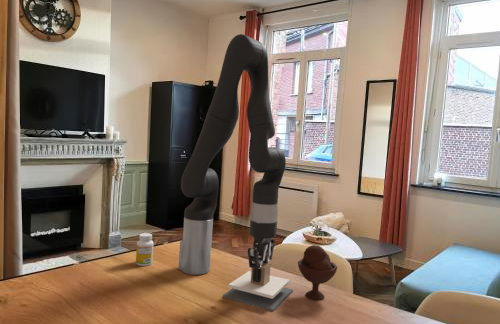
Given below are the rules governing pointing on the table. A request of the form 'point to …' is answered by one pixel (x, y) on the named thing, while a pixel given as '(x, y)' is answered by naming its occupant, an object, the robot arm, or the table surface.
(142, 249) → the supplement bottle
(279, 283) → the lid
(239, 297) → the mat
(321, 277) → the ice cream bowl
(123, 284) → the table surface
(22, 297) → the table surface
